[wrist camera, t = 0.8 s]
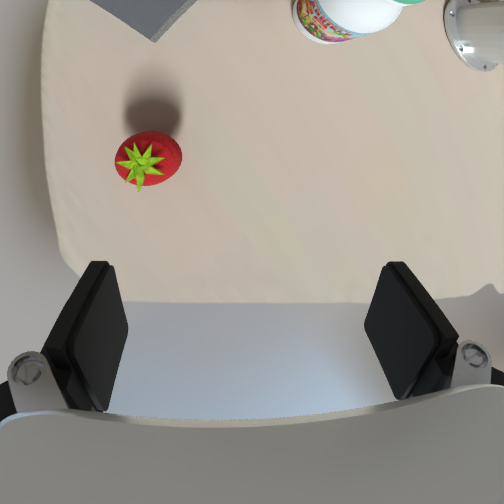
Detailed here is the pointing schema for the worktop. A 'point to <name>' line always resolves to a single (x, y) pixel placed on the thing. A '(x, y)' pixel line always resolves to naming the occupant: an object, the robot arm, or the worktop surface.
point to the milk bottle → (345, 17)
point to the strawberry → (148, 158)
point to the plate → (147, 14)
